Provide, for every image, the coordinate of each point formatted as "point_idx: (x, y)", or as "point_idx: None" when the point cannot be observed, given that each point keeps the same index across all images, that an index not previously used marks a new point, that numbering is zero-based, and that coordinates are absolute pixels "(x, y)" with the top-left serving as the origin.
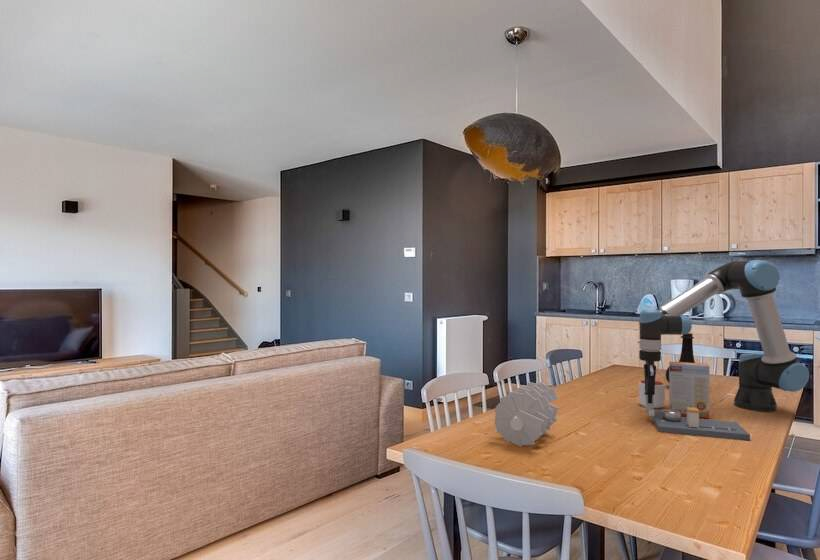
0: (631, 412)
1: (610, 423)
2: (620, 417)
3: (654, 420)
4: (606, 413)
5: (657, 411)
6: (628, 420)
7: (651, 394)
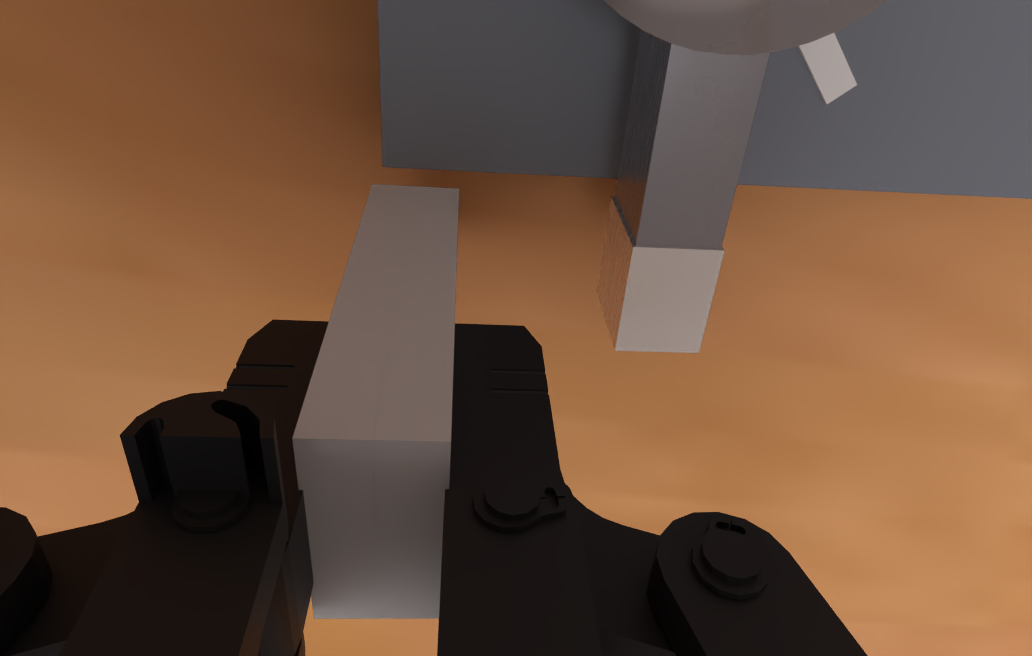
0: (23, 367)
1: None
2: None
3: None
4: None
5: (733, 186)
6: None
7: (649, 563)
